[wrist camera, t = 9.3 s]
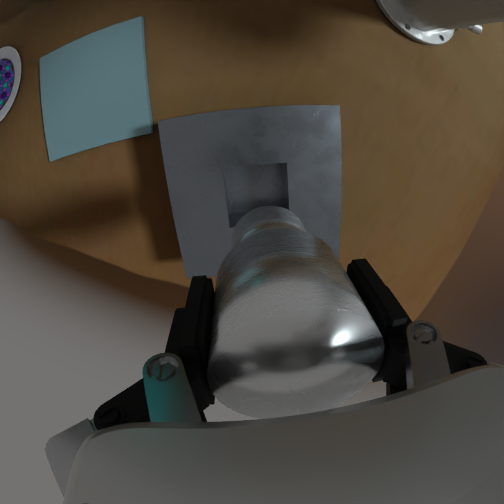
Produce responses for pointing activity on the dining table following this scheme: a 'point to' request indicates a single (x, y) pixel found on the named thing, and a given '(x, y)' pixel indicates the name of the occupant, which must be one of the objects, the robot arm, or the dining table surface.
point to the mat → (96, 90)
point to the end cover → (287, 322)
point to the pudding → (8, 78)
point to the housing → (250, 174)
